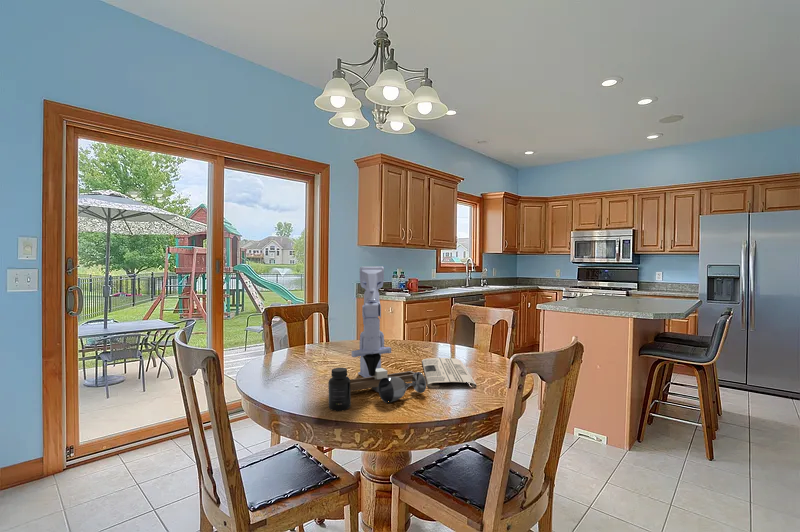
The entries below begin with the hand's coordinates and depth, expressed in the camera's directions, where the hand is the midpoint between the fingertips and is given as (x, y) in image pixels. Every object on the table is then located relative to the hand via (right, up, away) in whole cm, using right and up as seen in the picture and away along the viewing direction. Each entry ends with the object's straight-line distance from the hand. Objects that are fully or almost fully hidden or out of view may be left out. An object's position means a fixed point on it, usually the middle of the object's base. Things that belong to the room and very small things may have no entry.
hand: (371, 375), depth 143 cm
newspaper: (+30, -6, +21) cm, 37 cm away
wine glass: (+17, -2, -3) cm, 17 cm away
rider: (+3, -2, +1) cm, 4 cm away
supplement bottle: (-9, -6, -17) cm, 20 cm away
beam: (+3, -5, +2) cm, 6 cm away
